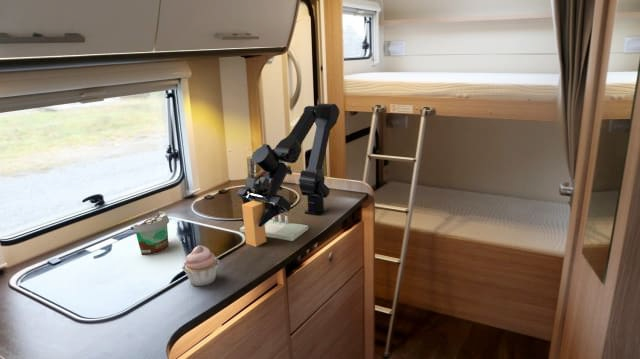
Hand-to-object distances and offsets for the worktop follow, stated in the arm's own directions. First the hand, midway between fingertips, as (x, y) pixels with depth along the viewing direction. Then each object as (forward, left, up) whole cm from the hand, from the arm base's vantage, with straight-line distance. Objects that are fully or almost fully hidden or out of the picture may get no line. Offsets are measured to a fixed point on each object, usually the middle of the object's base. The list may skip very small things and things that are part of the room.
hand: (250, 223), depth 136 cm
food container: (+14, -25, -7) cm, 29 cm away
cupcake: (+24, +1, -7) cm, 25 cm away
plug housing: (-1, 0, -7) cm, 7 cm away
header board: (-11, 0, -7) cm, 13 cm away
